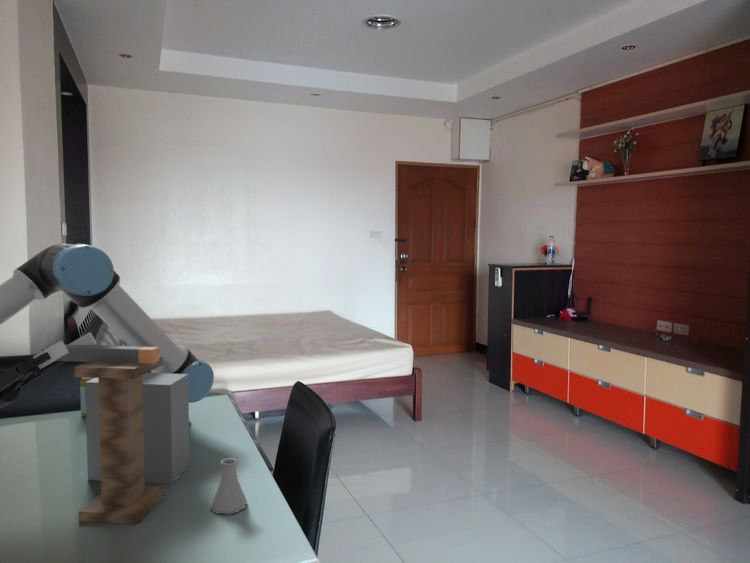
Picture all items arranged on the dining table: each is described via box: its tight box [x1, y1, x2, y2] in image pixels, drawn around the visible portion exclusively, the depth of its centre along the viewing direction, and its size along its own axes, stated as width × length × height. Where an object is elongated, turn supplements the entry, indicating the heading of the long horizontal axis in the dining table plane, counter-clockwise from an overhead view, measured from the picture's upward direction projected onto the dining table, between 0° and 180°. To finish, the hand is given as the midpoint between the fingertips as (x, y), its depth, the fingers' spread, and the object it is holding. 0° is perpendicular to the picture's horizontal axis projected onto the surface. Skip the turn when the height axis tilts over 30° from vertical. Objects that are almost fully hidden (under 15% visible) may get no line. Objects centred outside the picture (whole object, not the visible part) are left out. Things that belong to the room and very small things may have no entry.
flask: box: [210, 457, 248, 514], centre depth 116 cm, size 7×7×10 cm
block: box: [85, 373, 190, 484], centre depth 132 cm, size 20×10×23 cm, turn 86°
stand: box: [73, 356, 166, 525], centre depth 114 cm, size 12×12×31 cm
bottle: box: [79, 377, 94, 418], centre depth 175 cm, size 7×7×15 cm
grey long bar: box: [41, 344, 159, 364], centre depth 113 cm, size 24×3×3 cm, turn 86°
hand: (79, 342), depth 113 cm, fingers open, 9 cm apart
